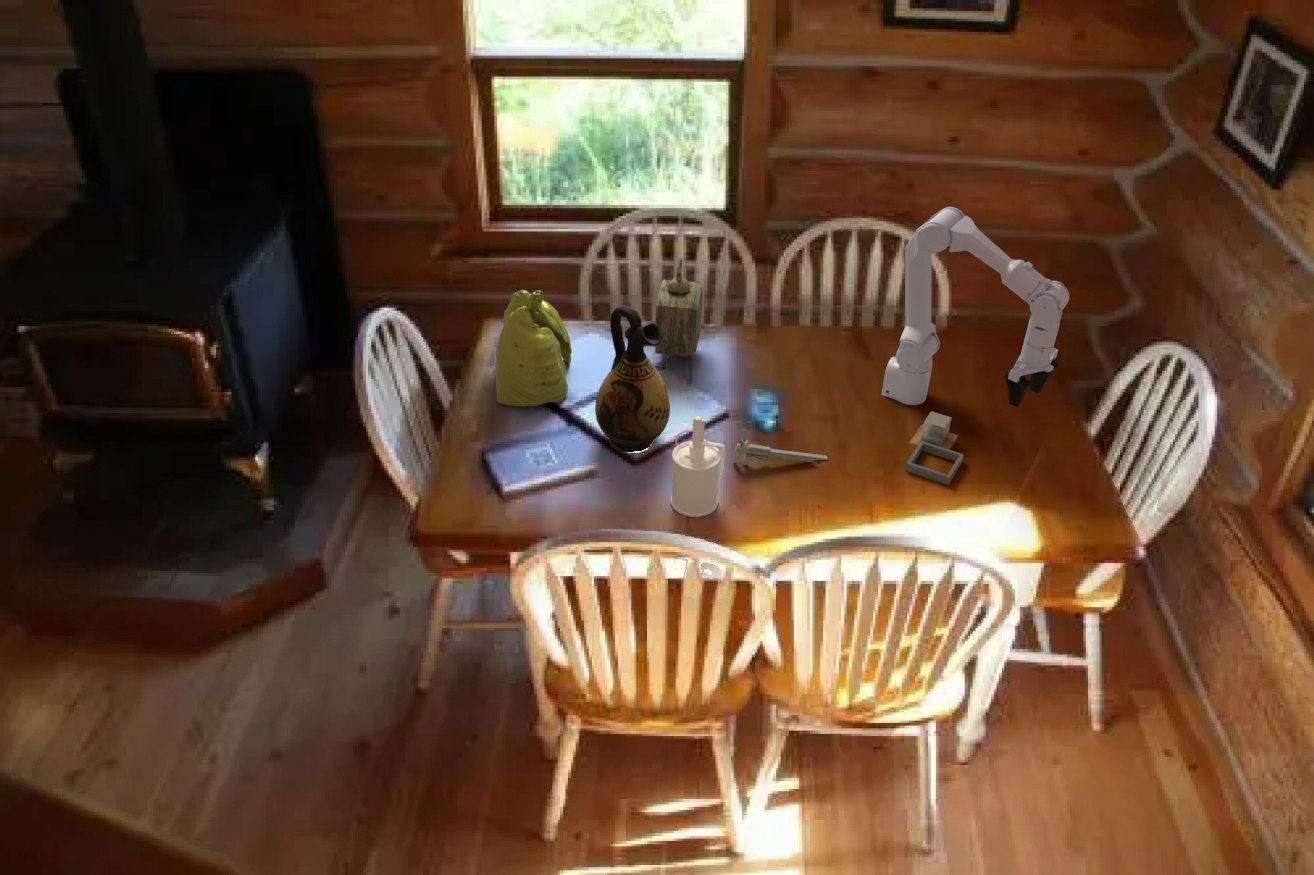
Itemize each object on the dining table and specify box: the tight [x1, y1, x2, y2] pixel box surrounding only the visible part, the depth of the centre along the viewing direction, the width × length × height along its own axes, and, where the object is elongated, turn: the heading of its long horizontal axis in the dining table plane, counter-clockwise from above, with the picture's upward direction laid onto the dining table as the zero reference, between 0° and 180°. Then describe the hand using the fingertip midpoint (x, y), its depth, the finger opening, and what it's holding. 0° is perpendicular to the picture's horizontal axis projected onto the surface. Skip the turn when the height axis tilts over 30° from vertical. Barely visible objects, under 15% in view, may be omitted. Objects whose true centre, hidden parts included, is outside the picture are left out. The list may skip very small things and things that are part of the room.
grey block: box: [921, 410, 952, 447], centre depth 231 cm, size 4×4×5 cm
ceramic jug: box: [594, 304, 671, 454], centre depth 223 cm, size 17×15×30 cm
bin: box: [904, 441, 965, 486], centre depth 224 cm, size 9×9×3 cm
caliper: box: [732, 438, 828, 467], centre depth 224 cm, size 20×1×6 cm, turn 94°
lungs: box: [494, 289, 573, 407], centre depth 241 cm, size 25×16×24 cm, turn 178°
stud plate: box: [909, 423, 959, 450], centre depth 232 cm, size 8×8×3 cm
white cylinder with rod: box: [670, 415, 727, 518], centre depth 210 cm, size 10×9×20 cm
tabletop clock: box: [654, 257, 704, 370], centre depth 251 cm, size 14×9×25 cm, turn 172°
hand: (1024, 397), depth 229 cm, fingers open, 7 cm apart
